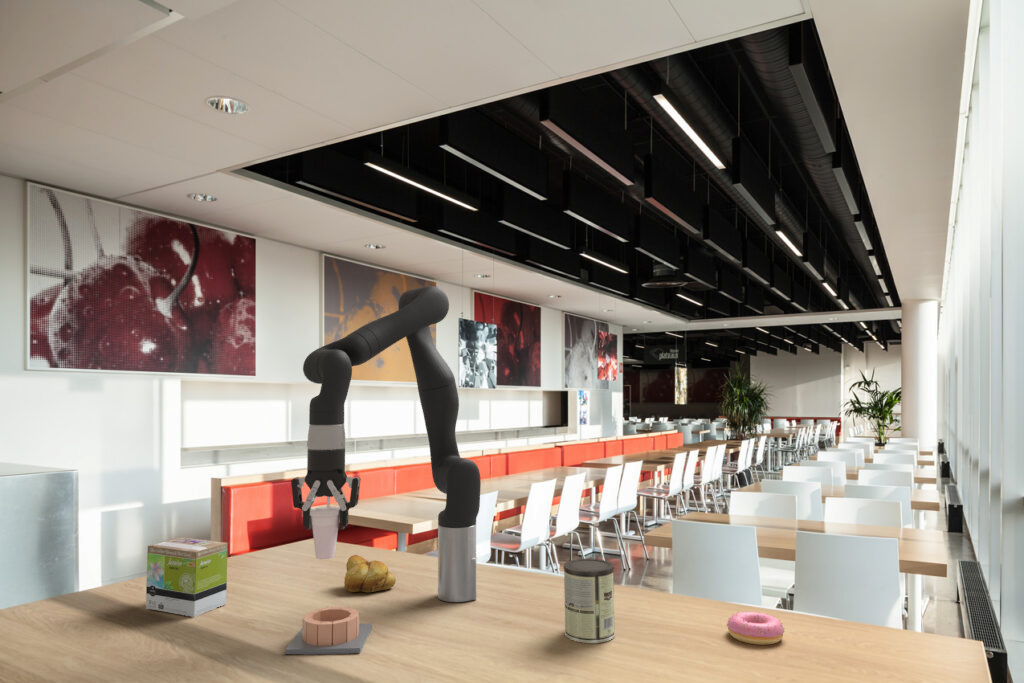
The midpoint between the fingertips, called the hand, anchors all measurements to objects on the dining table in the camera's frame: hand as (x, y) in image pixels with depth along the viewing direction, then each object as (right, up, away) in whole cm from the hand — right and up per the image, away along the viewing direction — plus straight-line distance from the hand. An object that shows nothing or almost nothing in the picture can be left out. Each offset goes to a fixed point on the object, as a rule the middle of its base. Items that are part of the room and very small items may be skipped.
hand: (325, 528), depth 144 cm
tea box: (-37, -23, +18) cm, 47 cm away
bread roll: (+2, -24, +32) cm, 40 cm away
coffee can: (+54, -22, -1) cm, 58 cm away
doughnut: (+87, -22, -2) cm, 90 cm away
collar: (+2, -21, -4) cm, 22 cm away
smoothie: (0, -6, 0) cm, 6 cm away
